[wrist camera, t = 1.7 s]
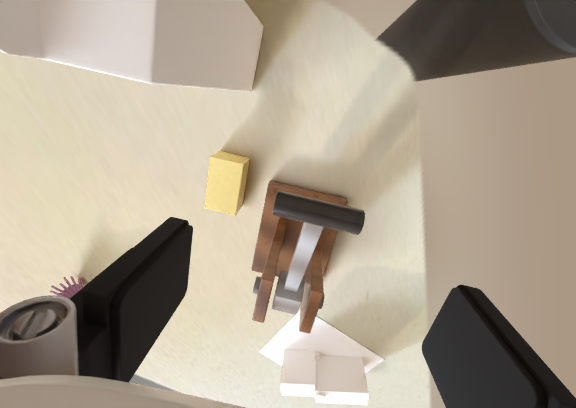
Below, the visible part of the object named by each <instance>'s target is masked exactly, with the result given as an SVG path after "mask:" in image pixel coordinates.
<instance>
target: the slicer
mask: <svg viewBox="0 0 576 408" xmlns="http://www.w3.org/2000/svg"><path fill="white" fill-rule="evenodd" d="M278 190H279V191H283V192H288V193H292V194H296V195H300V196H305V197H309V198H313V199H317V200H322V201H326V202H330V203H334V204H339V205H343V206H346V203H347V201H346V198H343V197H339V196H334V195H330V194H326V193H322V192H317V191H313V190H309V189H305V188H300V187H296V186H292V185H288V184H283V183H279V182H275V181H270V182H269V184H268V189H267V194H266V199H265V204H264V209H263V214H262V219H261V224H260V229H259V234H258V239H257V244H256V249H255V255H254V260H253V265H252V271H257V272H261V273H263V274H262V277H257V278H256V281H255V284H254V289H253V293H255V294H258V295H257V300H256V304H255V309H254V314H253V318H252V319H253V320H254V321H258V322H262V323H263V322H264V319H265V315H266V311H267V307H268V303H269V299H270V294H271V290H272V286H273V282H274V277H275V276H278V277H279V275H280V272H281V270H283V271H287V272H288V270H289V267H290V264H291V261H292V258H293V254H294V251H295V248H296V245H297V242H298V239H299V236H300V232H301V229H302V226H303V223H304V222H300V221H296V220H292V219H288V218H283V217H279V216H275V215H272V211H273V206H274V202H275V198H276V194H277V191H278ZM337 231H338V230H334V229H330V228H326V227H324V228H323V230H322V233H321V235H320V237H319V240H318V242H317V245H316V247H315V249H314V252H313V254H312V257H311V259H310V261H309V264H308V266H307V269H306V271H305V273H304V276H306V278H305V285H304V292H303V298H302V303H301V306H300V321H299V331H300V332H304V333H308V334H310V333H311V330H312V327H313V324H314V321H315V318H316V315H317V312H318V309H321V308H322V306H323V302H324V292H323V275H324V272H325V268H326V265H327V262H328V259H329V256H330V253H331V250H332V247H333V243H334V240H335V237H336V234H337Z"/></svg>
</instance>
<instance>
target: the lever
mask: <svg viewBox="0 0 576 408" xmlns="http://www.w3.org/2000/svg"><path fill="white" fill-rule="evenodd" d="M272 215H275V216H279V217H283V218H288V219H292V220H296V221H300V222H304V223H303V226H302V229H301V232H300V236H299V239H298V242H297V245H296V248H295V251H294V254H293V258H292V261H291V264H290V267H289V270H288V272H287V271H283V270H281V272H280V275H279V279H278V283H277V287H276V291H275V296H274V300H273V305H272V309H274V310H278V311H283V312H287V313H291V314H295V315H296V313H297V311H298V309H299V307H300V305H301V303H302V298H303V292H304V285H305V278H306V276H304V273H305V271H306V269H307V266H308V264H309V261H310V259H311V257H312V254H313V252H314V249H315V247H316V245H317V242H318V240H319V237H320V235H321V233H322V230H323V228H324V227H326V228H330V229H334V230H338V231H343V232H347V233H351V234H355V235H359V234H360V232H361V230H362V228H363V224H364V219H365V213H364V211H363V210H360V209H356V208H351V207H347V206H343V205H339V204H334V203H330V202H326V201H322V200H317V199H313V198H309V197H305V196H300V195H296V194H292V193H288V192H283V191H279V190H278V191H277V194H276V198H275V202H274V206H273V211H272Z"/></svg>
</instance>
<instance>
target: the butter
mask: <svg viewBox="0 0 576 408" xmlns="http://www.w3.org/2000/svg"><path fill="white" fill-rule="evenodd" d="M249 162H250V158H247V157H243V156H238V155H234V154H230V153H226V152H221V151H219V152H217V153H215V154H213V155H212V156H210V162H209V171H208V181H207V190H206V199H205V208H206V209H210V210H214V211H219V212H223V213H227V214H231V215H236V214H237V213H238V211H239V210H240V208H241V207H242V204H243V198H244V192H245V186H246V180H247V174H248V168H249Z"/></svg>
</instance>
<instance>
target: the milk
mask: <svg viewBox="0 0 576 408" xmlns="http://www.w3.org/2000/svg"><path fill="white" fill-rule="evenodd" d="M263 29H264V26H263V25H262V24H261V22H260V21H259V19H258V18H257V17H256V15H255V14H254V13H253V11H252V10H251V9H250V7H249V6H248V5H247V3H246V2H245V0H0V51H1V52H3V53H6V54H10V55H17V56H24V57H31V58H38V59H45V60H49V61H53V62H58V63H62V64H66V65H71V66H75V67H79V68H84V69H88V70H93V71H97V72H101V73H106V74H110V75H114V76H119V77H123V78H128V79H132V80H136V81H141V82H145V83H152V84H164V85H177V86H190V87H202V88H215V89H228V90H240V91H252V86H253V81H254V76H255V71H256V66H257V61H258V55H259V50H260V45H261V40H262V35H263Z"/></svg>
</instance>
